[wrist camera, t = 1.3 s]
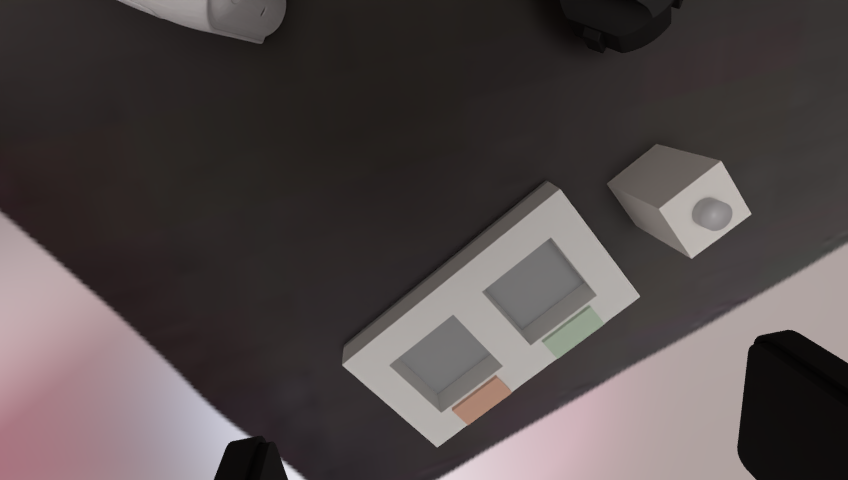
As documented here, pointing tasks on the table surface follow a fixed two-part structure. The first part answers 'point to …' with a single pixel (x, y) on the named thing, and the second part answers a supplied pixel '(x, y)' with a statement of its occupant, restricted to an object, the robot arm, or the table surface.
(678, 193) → the plug
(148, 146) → the table surface
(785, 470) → the robot arm
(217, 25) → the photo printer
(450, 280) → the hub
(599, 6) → the power plug
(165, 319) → the table surface
